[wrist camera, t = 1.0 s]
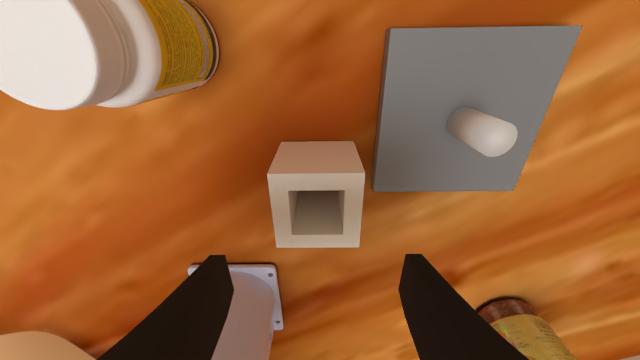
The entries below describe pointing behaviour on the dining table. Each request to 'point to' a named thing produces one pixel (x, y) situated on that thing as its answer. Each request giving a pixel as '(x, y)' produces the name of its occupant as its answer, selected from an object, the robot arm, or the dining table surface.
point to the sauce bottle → (525, 330)
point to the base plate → (464, 104)
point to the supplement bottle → (103, 51)
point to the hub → (316, 194)
